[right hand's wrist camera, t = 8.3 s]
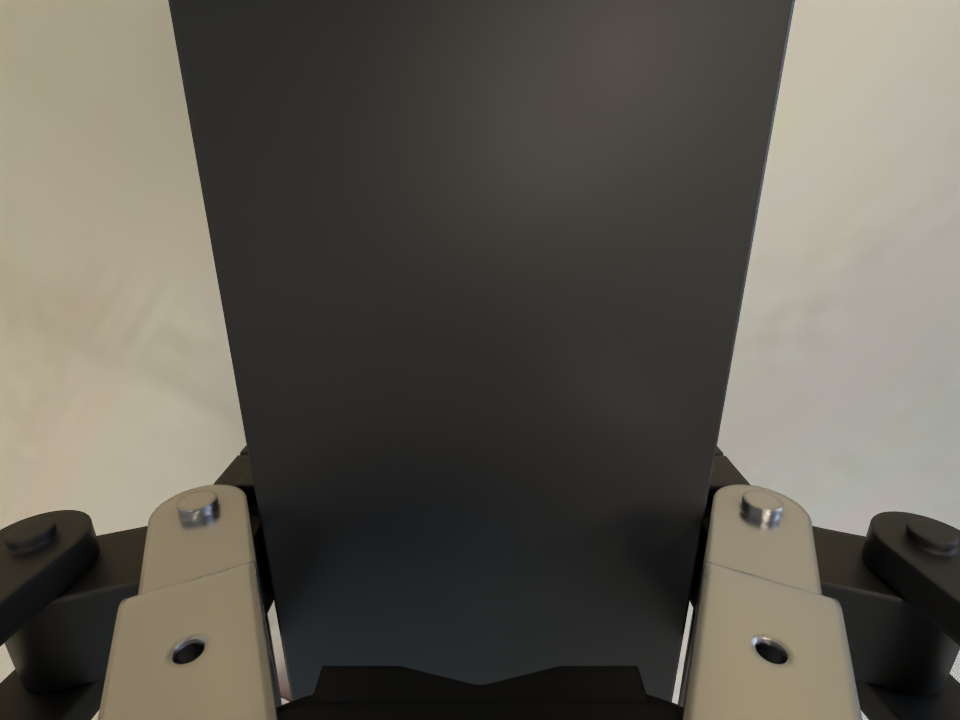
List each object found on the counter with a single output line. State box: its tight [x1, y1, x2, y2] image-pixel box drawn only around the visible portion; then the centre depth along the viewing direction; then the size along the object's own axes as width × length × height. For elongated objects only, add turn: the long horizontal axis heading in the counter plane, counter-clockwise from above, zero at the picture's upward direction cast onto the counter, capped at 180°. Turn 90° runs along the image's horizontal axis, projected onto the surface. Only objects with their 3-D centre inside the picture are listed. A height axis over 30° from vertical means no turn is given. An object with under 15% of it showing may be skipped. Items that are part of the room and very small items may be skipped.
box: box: [169, 0, 795, 702], centre depth 11 cm, size 21×6×12 cm, turn 0°
